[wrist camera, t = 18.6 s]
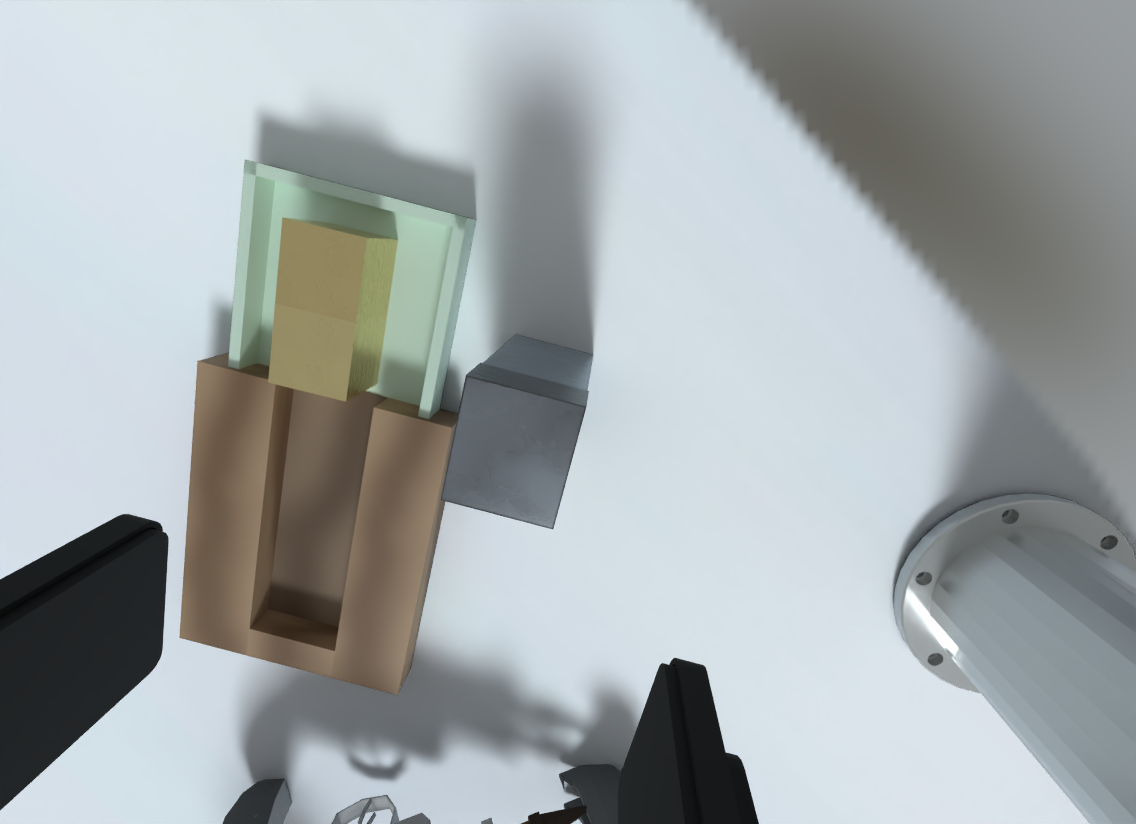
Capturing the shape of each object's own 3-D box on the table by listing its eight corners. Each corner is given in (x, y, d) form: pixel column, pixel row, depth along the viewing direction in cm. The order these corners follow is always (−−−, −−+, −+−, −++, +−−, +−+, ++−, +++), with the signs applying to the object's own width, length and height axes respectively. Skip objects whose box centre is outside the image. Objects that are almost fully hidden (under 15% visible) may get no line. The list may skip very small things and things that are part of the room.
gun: (223, 775, 40) (146, 1034, 27) (578, 656, 48) (663, 809, 34) (243, 832, 42) (180, 1107, 28) (585, 708, 49) (669, 875, 35)
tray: (476, 220, 30) (467, 217, 28) (439, 409, 33) (428, 419, 31) (268, 165, 30) (244, 159, 28) (250, 359, 33) (228, 366, 31)
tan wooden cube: (398, 239, 30) (366, 237, 26) (387, 314, 31) (356, 323, 27) (324, 221, 30) (282, 217, 26) (316, 296, 31) (274, 303, 27)
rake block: (594, 354, 31) (586, 406, 21) (571, 439, 33) (553, 529, 22) (514, 333, 31) (466, 375, 21) (495, 419, 33) (440, 500, 22)
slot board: (463, 415, 33) (451, 427, 30) (410, 667, 38) (397, 695, 35) (226, 353, 33) (197, 361, 30) (205, 614, 38) (179, 637, 35)
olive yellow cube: (387, 314, 31) (356, 323, 27) (377, 383, 32) (346, 401, 28) (316, 296, 31) (274, 303, 27) (308, 366, 32) (268, 382, 28)
